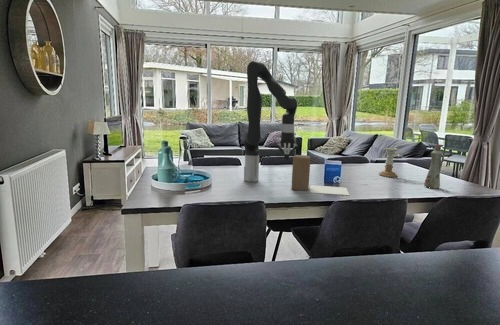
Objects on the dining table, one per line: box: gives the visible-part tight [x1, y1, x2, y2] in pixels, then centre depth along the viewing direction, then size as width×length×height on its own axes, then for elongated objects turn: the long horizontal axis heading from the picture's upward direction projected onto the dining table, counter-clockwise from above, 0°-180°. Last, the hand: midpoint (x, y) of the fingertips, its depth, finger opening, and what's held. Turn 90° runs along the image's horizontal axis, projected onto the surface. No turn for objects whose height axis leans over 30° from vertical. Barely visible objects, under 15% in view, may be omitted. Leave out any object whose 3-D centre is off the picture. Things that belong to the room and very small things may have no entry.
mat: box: [309, 184, 350, 196], centre depth 194 cm, size 22×16×1 cm
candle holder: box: [378, 147, 400, 178], centre depth 235 cm, size 12×12×20 cm
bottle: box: [423, 143, 443, 189], centre depth 204 cm, size 9×9×28 cm
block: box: [291, 154, 311, 192], centre depth 195 cm, size 10×10×20 cm
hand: (286, 160), depth 195 cm, fingers closed
